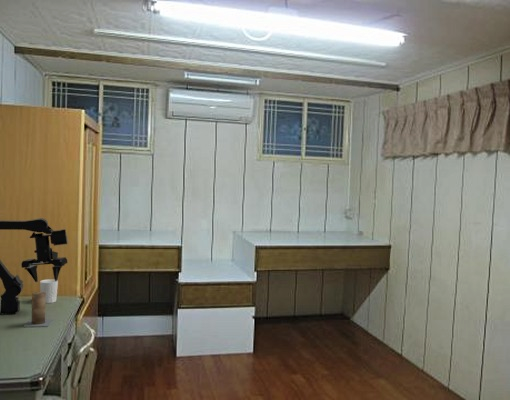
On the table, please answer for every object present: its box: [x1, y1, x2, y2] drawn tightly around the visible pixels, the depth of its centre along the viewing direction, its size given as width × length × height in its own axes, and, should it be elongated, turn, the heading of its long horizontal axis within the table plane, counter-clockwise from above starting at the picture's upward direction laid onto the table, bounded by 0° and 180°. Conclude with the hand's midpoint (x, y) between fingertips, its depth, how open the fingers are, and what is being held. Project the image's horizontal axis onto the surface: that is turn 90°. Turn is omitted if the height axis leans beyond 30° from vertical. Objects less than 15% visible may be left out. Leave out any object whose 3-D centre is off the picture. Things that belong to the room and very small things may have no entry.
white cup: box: [39, 278, 59, 304], centre depth 222 cm, size 8×8×10 cm
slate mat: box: [23, 318, 54, 328], centre depth 189 cm, size 9×9×1 cm
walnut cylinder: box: [31, 291, 46, 324], centre depth 189 cm, size 5×5×12 cm
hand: (46, 281), depth 207 cm, fingers open, 9 cm apart
